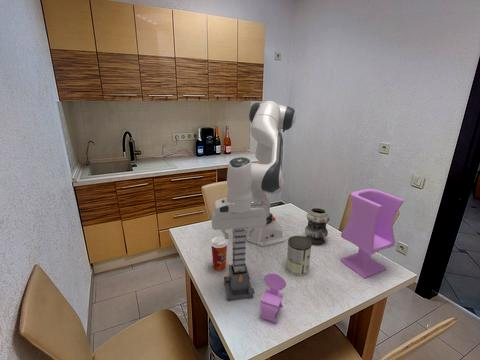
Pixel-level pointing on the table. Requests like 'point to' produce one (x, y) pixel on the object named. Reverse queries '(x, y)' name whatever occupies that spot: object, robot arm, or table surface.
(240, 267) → the column
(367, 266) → the purple pedestal armchair
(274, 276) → the toy chair
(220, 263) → the paper cup
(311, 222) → the apothecary jar
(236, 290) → the stand
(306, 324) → the table surface
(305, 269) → the coffee can
